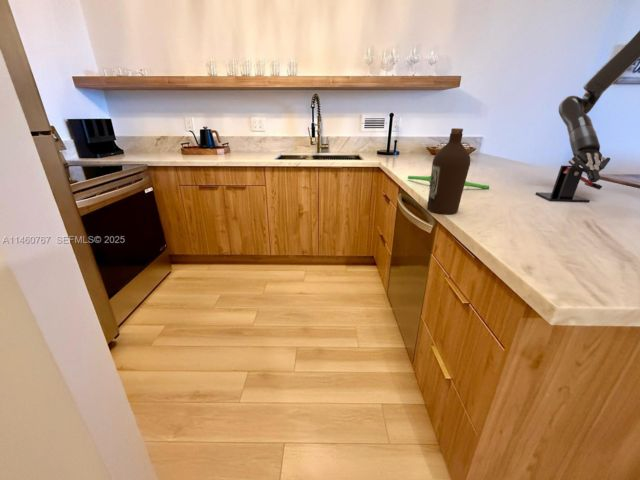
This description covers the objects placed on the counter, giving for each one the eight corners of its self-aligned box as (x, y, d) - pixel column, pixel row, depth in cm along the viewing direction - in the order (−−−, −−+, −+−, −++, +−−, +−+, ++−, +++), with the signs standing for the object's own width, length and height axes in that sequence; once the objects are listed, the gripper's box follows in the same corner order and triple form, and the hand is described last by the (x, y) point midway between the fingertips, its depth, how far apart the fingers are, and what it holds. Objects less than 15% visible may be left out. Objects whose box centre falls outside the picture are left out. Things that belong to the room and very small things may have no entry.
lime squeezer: (488, 189, 119) (492, 173, 116) (486, 195, 110) (491, 179, 107) (408, 179, 135) (409, 165, 132) (400, 184, 125) (402, 170, 123)
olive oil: (454, 205, 98) (470, 127, 88) (464, 216, 89) (483, 130, 78) (422, 204, 100) (434, 127, 89) (428, 214, 90) (443, 129, 80)
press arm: (585, 186, 106) (591, 181, 105) (598, 191, 100) (603, 185, 99) (559, 171, 104) (564, 165, 103) (570, 174, 99) (576, 168, 98)
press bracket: (571, 196, 109) (583, 164, 104) (588, 203, 101) (602, 169, 96) (534, 195, 110) (545, 164, 105) (549, 202, 102) (560, 168, 97)
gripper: (571, 134, 105) (582, 174, 99) (611, 134, 103) (625, 175, 97) (557, 147, 112) (567, 186, 106) (594, 148, 110) (606, 187, 104)
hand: (594, 181), depth 102 cm, fingers closed
